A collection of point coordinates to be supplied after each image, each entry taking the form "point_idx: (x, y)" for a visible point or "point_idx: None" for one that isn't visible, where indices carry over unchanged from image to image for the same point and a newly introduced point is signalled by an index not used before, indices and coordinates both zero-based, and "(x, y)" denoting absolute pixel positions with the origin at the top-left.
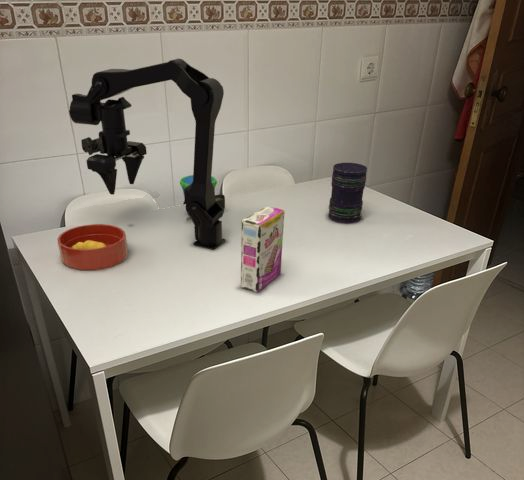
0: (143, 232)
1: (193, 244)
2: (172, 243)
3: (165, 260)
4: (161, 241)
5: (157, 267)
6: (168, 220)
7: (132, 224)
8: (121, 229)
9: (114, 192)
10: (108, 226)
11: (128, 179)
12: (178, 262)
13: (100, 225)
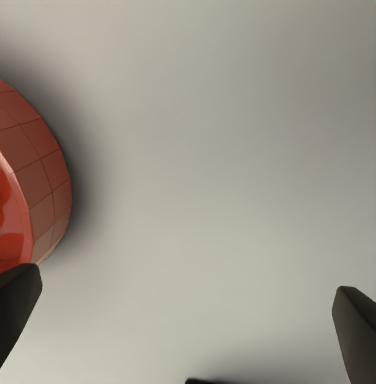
0: (221, 220)
1: (186, 381)
2: (175, 331)
3: (70, 349)
4: (174, 301)
5: (28, 346)
6: (372, 253)
7: (287, 139)
8: None
9: (34, 304)
10: (21, 206)
11: (356, 310)
12: (78, 375)
13: (3, 169)
